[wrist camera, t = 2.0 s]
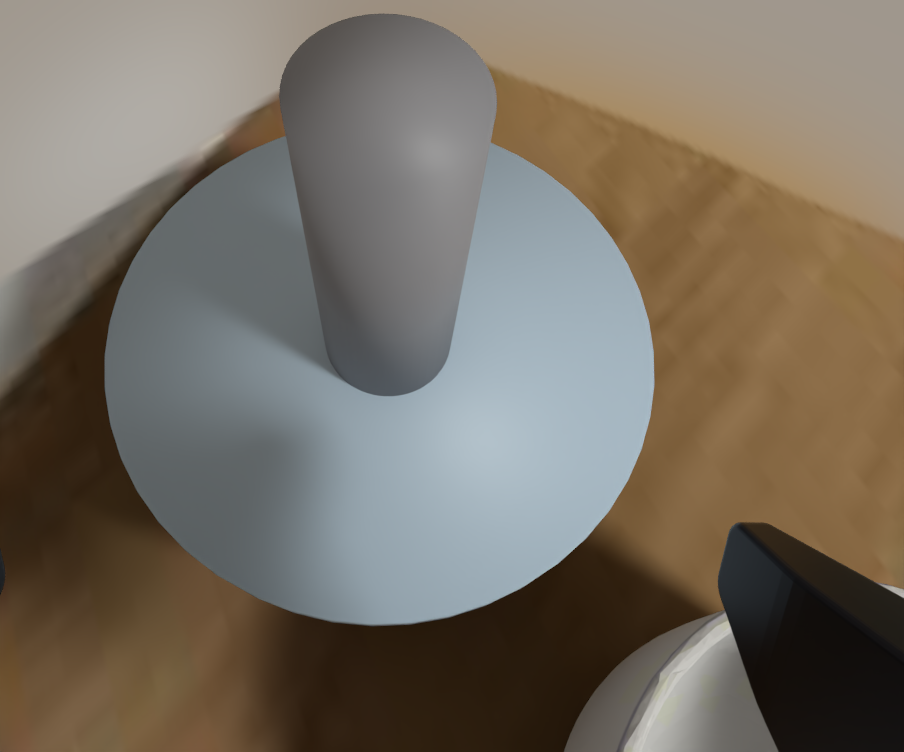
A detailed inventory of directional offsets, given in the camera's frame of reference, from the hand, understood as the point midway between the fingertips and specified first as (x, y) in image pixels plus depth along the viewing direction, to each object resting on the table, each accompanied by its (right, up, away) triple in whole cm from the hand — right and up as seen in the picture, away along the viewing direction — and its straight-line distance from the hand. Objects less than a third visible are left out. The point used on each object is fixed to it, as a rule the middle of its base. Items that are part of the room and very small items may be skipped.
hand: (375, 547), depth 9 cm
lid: (-1, +3, +9) cm, 10 cm away
